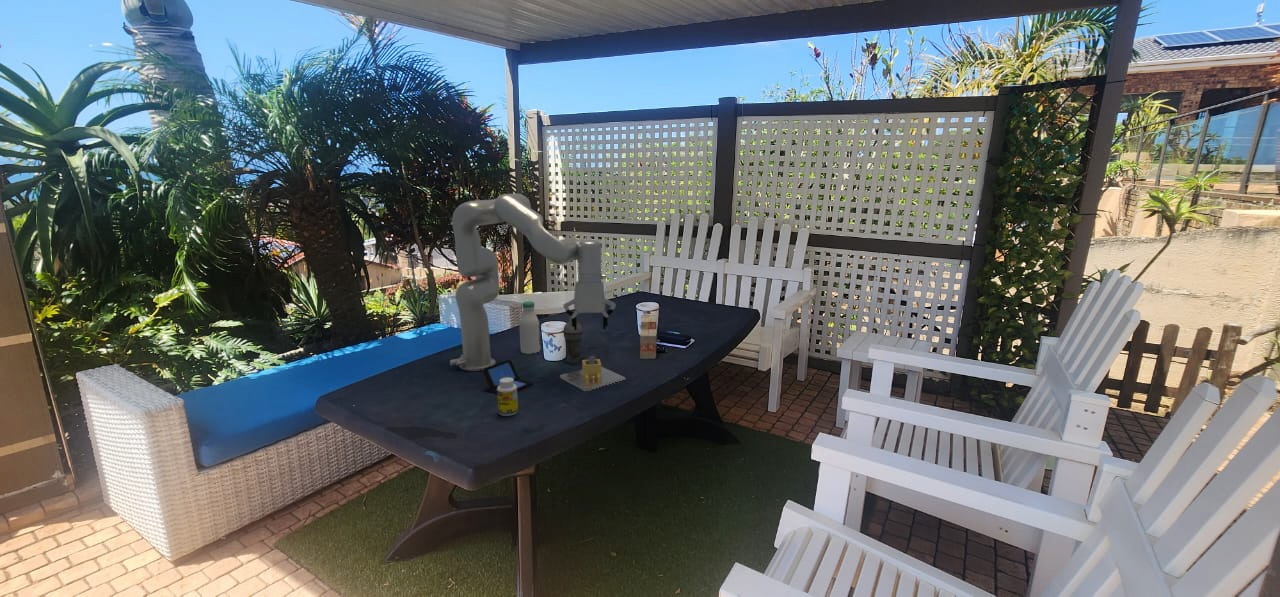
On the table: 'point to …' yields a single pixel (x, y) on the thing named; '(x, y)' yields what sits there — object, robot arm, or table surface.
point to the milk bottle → (529, 329)
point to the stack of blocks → (648, 337)
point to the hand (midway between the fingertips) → (589, 328)
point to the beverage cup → (573, 341)
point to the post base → (578, 381)
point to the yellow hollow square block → (591, 370)
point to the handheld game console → (504, 376)
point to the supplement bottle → (507, 397)
